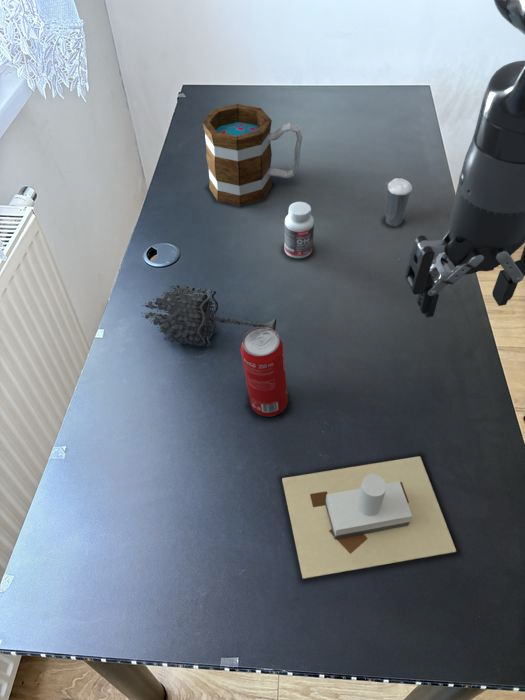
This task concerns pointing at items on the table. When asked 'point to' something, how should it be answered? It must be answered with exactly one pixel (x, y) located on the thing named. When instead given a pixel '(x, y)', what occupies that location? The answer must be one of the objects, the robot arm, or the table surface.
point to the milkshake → (397, 200)
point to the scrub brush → (368, 508)
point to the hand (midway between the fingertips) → (462, 306)
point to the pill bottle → (299, 230)
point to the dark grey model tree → (191, 315)
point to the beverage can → (265, 371)
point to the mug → (243, 153)
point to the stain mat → (372, 548)
